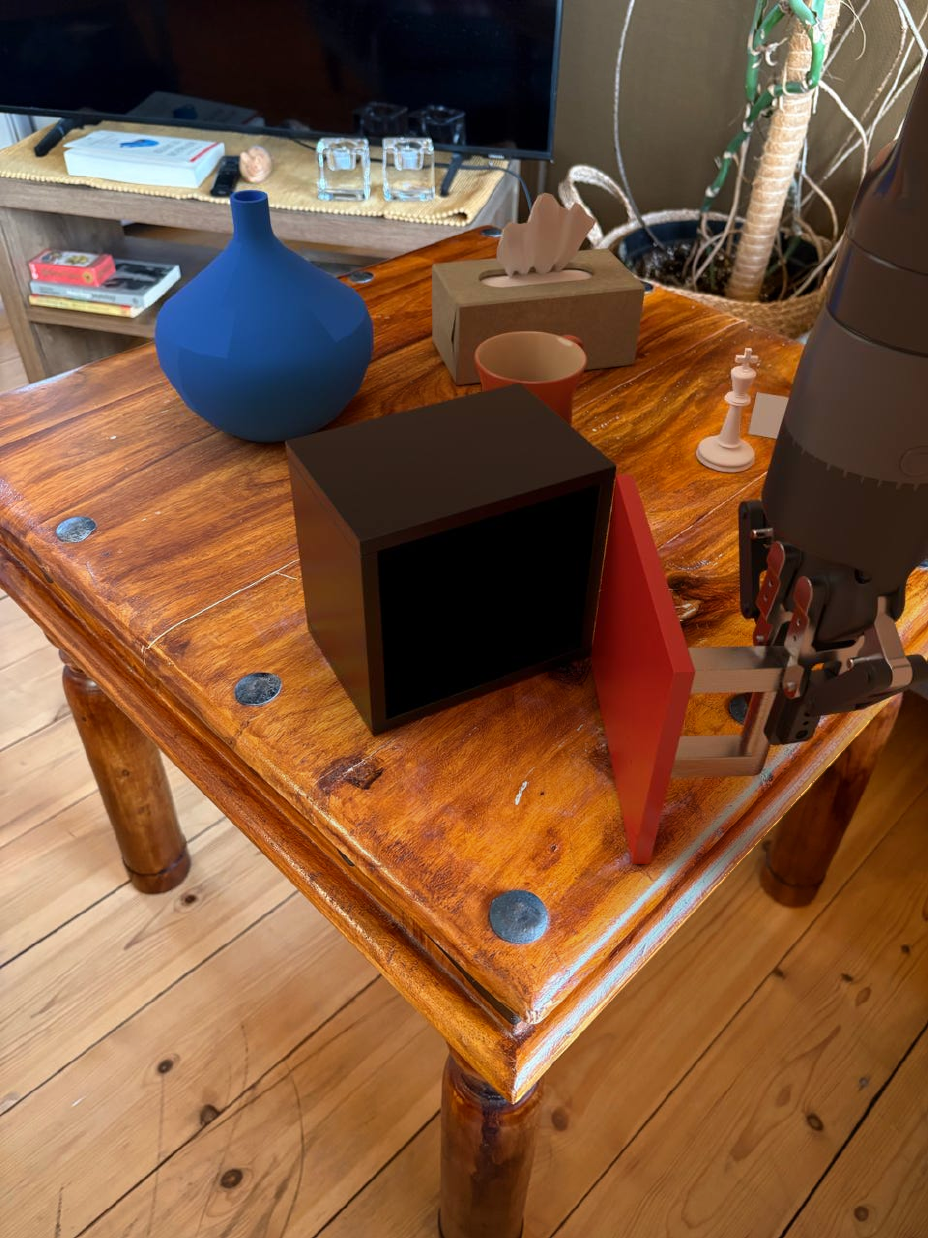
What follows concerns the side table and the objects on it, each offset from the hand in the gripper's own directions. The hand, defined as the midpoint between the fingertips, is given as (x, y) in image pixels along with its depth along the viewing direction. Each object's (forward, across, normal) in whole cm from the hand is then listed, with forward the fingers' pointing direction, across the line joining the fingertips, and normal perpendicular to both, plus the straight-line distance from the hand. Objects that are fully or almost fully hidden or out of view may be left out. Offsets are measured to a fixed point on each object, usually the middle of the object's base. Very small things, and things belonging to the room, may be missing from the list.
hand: (773, 720), depth 51 cm
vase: (+9, +51, +22) cm, 56 cm away
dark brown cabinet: (+9, +18, +13) cm, 24 cm away
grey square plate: (+8, +40, -25) cm, 48 cm away
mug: (+9, +39, +1) cm, 40 cm away
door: (+8, +6, +2) cm, 10 cm away
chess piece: (+8, +36, -16) cm, 40 cm away
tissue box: (+9, +58, -5) cm, 59 cm away
